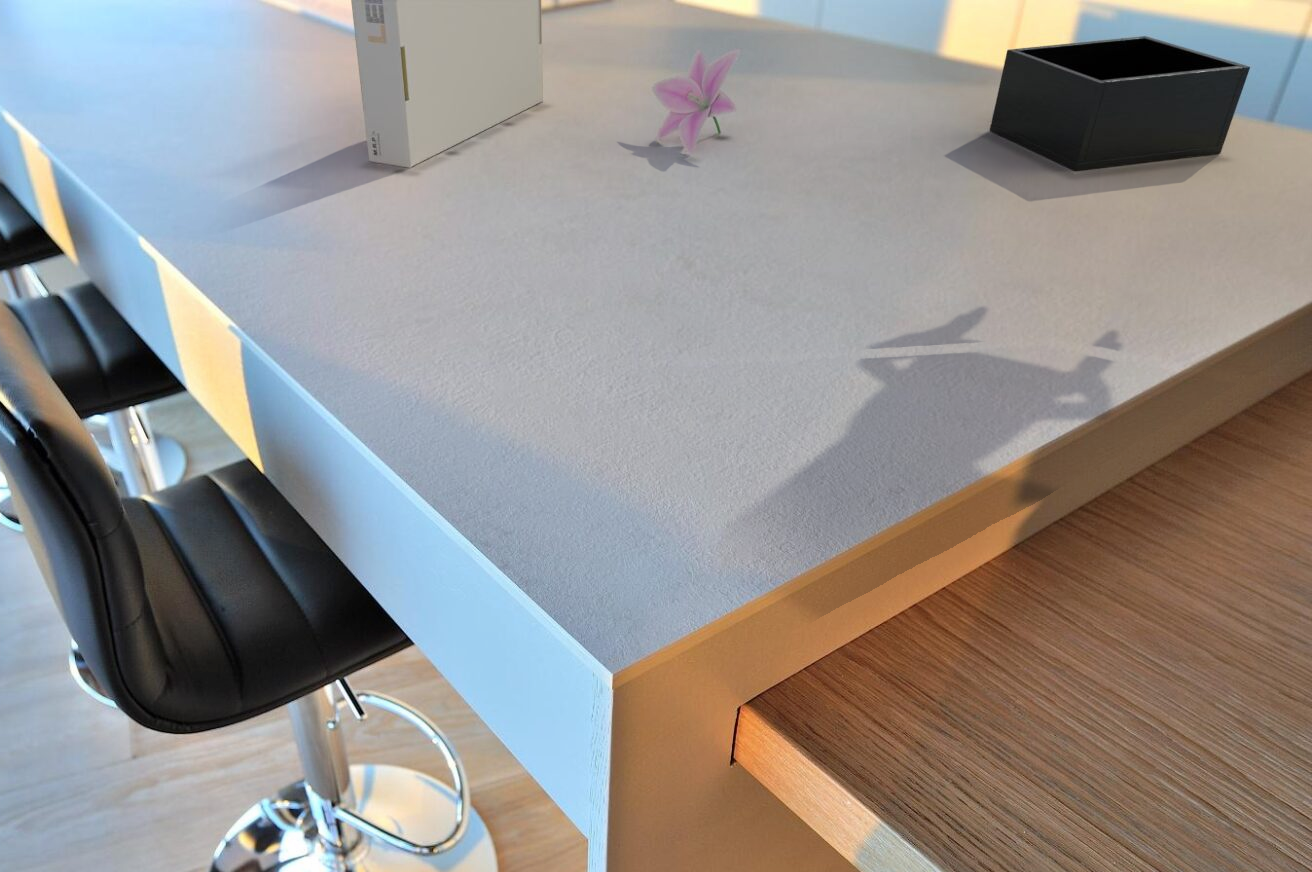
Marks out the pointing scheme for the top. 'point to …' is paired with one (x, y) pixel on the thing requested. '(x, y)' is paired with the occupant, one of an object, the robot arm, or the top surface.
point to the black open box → (1117, 101)
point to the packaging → (443, 71)
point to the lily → (695, 97)
